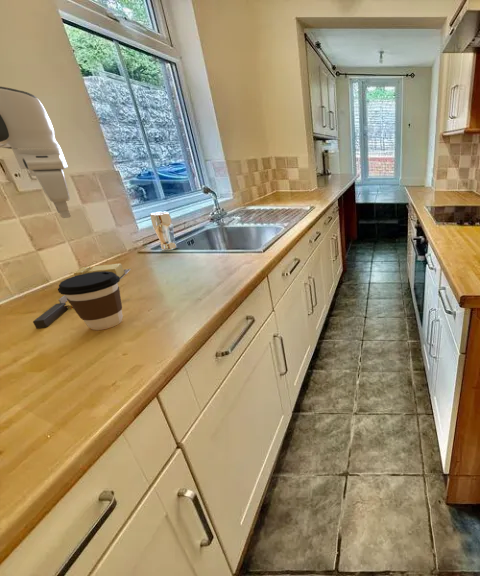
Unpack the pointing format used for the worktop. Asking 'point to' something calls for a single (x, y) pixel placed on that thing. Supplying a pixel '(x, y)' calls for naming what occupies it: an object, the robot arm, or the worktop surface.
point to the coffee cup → (94, 298)
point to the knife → (51, 314)
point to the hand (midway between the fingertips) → (64, 215)
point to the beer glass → (164, 230)
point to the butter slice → (82, 271)
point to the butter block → (109, 269)
